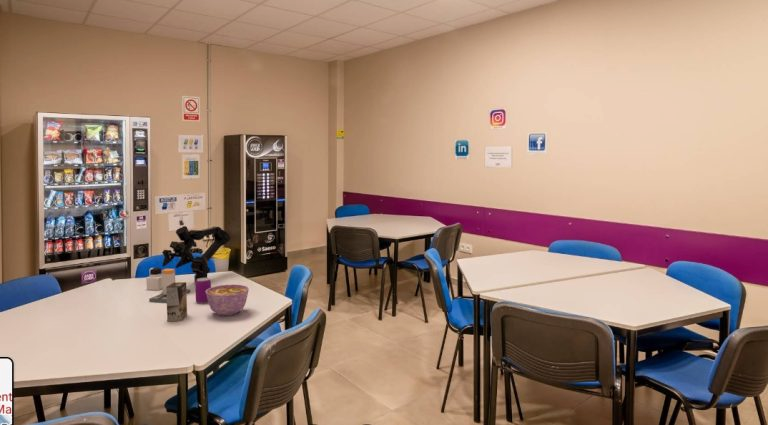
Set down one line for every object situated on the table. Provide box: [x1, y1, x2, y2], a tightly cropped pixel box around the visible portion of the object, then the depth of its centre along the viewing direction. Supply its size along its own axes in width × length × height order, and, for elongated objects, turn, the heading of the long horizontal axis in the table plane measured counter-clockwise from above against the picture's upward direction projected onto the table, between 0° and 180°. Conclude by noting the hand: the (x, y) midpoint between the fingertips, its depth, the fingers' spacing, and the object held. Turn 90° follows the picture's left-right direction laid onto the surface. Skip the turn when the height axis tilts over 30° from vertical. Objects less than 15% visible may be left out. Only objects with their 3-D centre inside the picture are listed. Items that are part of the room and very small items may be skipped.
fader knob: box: [161, 268, 176, 294], centre depth 259 cm, size 4×5×13 cm
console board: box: [148, 288, 191, 304], centre depth 261 cm, size 21×10×2 cm, turn 170°
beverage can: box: [194, 277, 212, 304], centre depth 253 cm, size 8×8×12 cm
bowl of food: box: [205, 284, 250, 317], centre depth 235 cm, size 20×20×12 cm
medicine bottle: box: [145, 266, 162, 291], centre depth 276 cm, size 7×7×12 cm
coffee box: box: [166, 281, 188, 322], centre depth 226 cm, size 9×6×16 cm
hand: (169, 266), depth 266 cm, fingers open, 9 cm apart
